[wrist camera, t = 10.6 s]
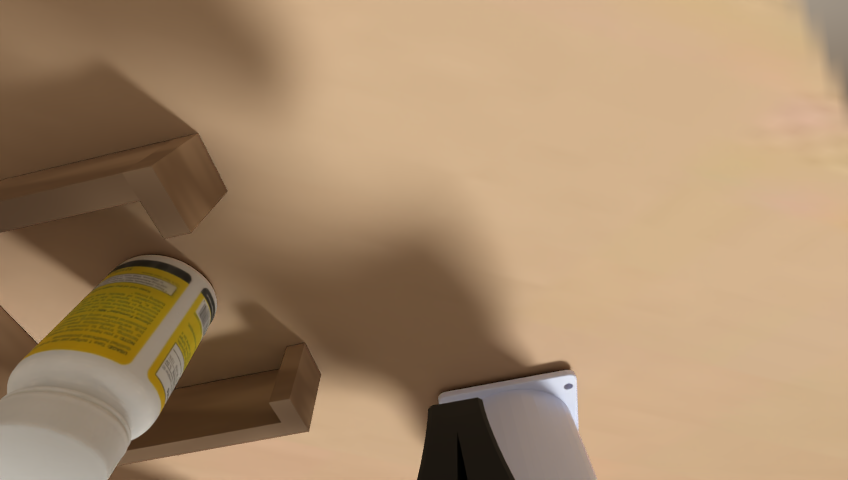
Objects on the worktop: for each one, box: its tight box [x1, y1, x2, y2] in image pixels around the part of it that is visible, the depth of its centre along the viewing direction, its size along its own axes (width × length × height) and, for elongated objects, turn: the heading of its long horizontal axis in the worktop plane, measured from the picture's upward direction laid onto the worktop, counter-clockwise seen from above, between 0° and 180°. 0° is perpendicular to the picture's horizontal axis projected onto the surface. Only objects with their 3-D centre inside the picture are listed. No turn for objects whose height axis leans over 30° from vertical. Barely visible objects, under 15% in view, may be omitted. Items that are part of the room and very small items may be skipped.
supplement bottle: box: [0, 255, 217, 480], centre depth 16 cm, size 5×5×8 cm
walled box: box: [0, 133, 321, 466], centre depth 19 cm, size 14×14×4 cm
